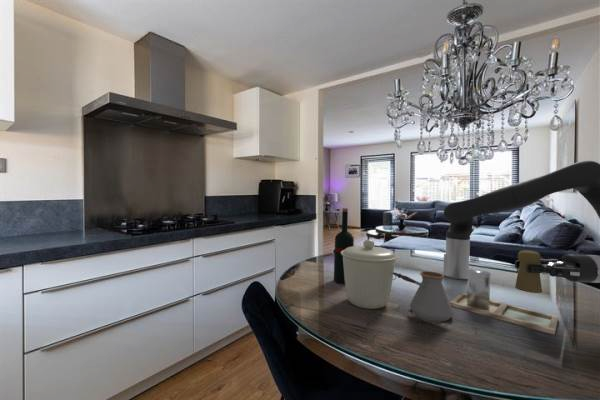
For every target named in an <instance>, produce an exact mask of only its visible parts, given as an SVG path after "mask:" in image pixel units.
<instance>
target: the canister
mask: <svg viewBox="0 0 600 400" xmlns="http://www.w3.org/2000/svg"><path fill="white" fill-rule="evenodd" d="M341 255H342V256H343V266H344V278H345V284H344V285H345V294H346V298H347V300H348V301H349V302H350V304H351V305H354V306H356V307H359V308H363V309H369V310H373V309H374V310H376V309H382V308H384V307H385V306H387V304H388V303H389V301H390V297H391V292H392V286H393V280H392V279H394V274H391V273H395V265H396V260H398V255H397V254H396V253H395V252H393V251H392V250H390V249H388V248H385V247H380V246H379V247H378V246H375V242H374V240H372V239H370V238H369V239H364V241H363V245H354V246H352V247H348V248H346V249H345V250H343V251H341ZM390 274H391V275H390ZM390 277H391V279H390Z"/></svg>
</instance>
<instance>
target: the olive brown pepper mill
mask: <svg viewBox="0 0 600 400" xmlns="http://www.w3.org/2000/svg"><path fill="white" fill-rule="evenodd" d="M541 258H542V256H541V254H540V253H539V252H538V251H535V250H526V249H525V250H524V249H523V250H520V251H519V252H518V253H517V259H518V260H519V261H520V264H519V268H518V270H517V276H516V280H515V289H517V290H519V291H522V292H526V293H531V294H533V293H534V294H542V293H543V288H542V282H541V273H528V272H526V265H527V264H534V265H538V264H539V263H540V261H541Z"/></svg>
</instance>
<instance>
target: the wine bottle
mask: <svg viewBox="0 0 600 400" xmlns="http://www.w3.org/2000/svg"><path fill="white" fill-rule="evenodd" d="M341 209H342V211H341V212H342V213H341V214H342V216H341V217H342V218H341V231H339V232H338V233H337V234H336V235H335V236H334V255H333V256H334V258H333V259H334V263H333V282H334V283H335V284H339V285H345V278H344V266H343V256H342V255H341V251H343V250H345V249H346V248H348V247H352V246H355V245H354V244H355V239H354V238H355V237H354V236H353V235H352V233H351V232H349V231H348V218H349V215H348V214H349V213H348V212H349V211H348V210H349V208H345V207H344V208H341Z"/></svg>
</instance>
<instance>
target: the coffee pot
mask: <svg viewBox="0 0 600 400" xmlns="http://www.w3.org/2000/svg"><path fill="white" fill-rule="evenodd" d="M391 274H393V276H394V278H393V279H392V281H395V280H396V279H397V278H399V279H402V280H403V281H406V282H409V283H410V284H411V283H412V284H415V285H417V286H418V288H417V290H416V292H415V294H414V296H413V298H412V299H411V302H410V304H409V306H410V309H411V312H413V314H415V315H416V317H417V319H420V320H422V321H424V322H426V323H430V324H436V325H437V324H443V323H445V322H446V321H448V320H450V319H451V318H452V316H453V315H454V311H453V306H451V305H450V300H449V297H448V295H447V293H446V290H445V288H444V285H443V283H442V281H443V279H445V275H443V273H439V272H435V271H427V270H426V271H421V272H420V273H419V274H420V276H421V279H422V280H421V282H419V281H417V280H415V279H414V278H411V277H409V276H407V275H404V274H402V273H400V272H399V273H397V272H393V273H391ZM391 274H390V275H391ZM390 279H391V277H390Z"/></svg>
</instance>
